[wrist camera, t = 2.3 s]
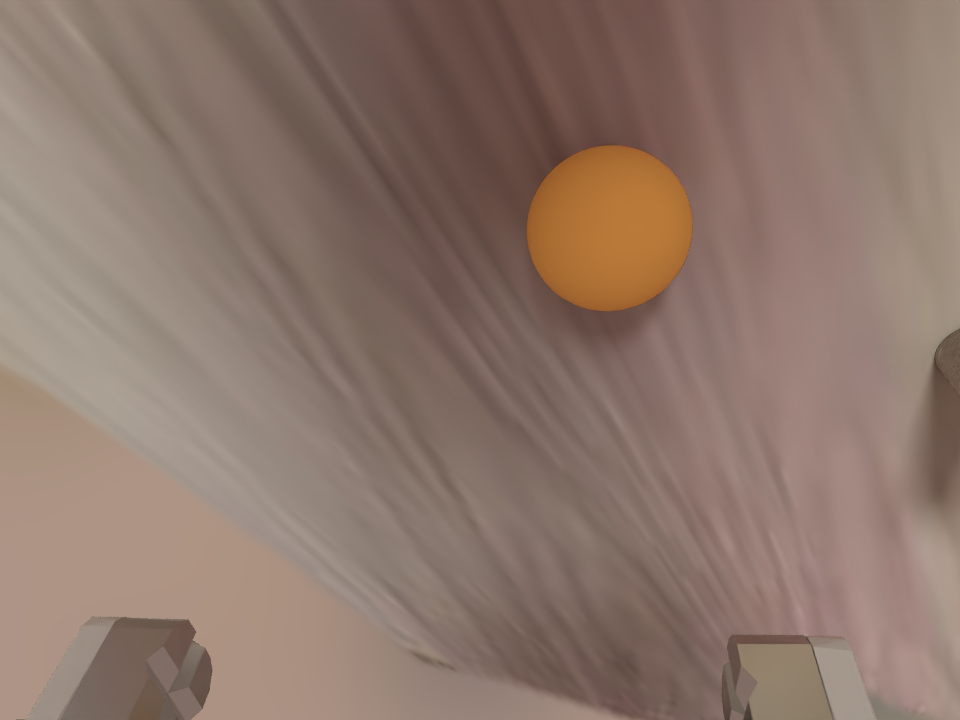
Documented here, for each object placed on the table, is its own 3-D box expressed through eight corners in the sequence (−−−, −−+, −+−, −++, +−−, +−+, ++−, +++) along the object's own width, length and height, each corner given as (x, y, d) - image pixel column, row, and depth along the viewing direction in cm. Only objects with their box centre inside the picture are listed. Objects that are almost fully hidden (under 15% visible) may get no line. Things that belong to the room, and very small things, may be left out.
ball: (522, 258, 29) (523, 340, 24) (530, 119, 25) (533, 183, 21) (662, 263, 28) (689, 346, 24) (689, 123, 25) (726, 189, 21)
